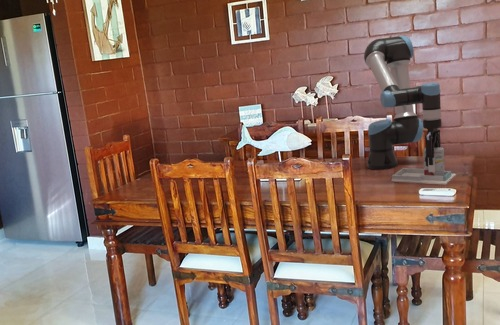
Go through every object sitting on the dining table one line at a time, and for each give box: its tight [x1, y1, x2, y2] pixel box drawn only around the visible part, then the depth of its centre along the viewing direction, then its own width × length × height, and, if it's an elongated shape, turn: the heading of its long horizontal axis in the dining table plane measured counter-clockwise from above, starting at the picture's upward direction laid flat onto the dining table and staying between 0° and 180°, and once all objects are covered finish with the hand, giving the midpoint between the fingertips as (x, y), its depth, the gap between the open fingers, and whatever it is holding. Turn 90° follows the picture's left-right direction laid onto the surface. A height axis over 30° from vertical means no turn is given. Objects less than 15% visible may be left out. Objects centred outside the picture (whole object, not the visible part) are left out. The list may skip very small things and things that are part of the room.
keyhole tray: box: [390, 167, 457, 186], centre depth 229 cm, size 16×24×3 cm, turn 53°
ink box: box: [422, 147, 446, 176], centre depth 225 cm, size 9×5×12 cm, turn 68°
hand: (434, 169), depth 226 cm, fingers closed on ink box, 6 cm apart
